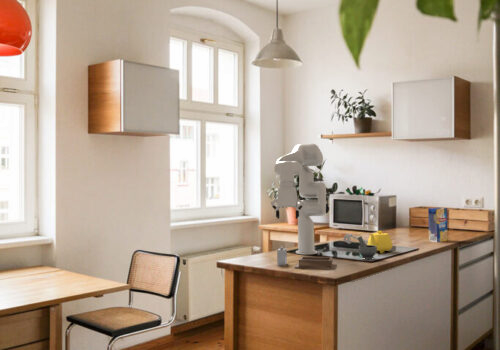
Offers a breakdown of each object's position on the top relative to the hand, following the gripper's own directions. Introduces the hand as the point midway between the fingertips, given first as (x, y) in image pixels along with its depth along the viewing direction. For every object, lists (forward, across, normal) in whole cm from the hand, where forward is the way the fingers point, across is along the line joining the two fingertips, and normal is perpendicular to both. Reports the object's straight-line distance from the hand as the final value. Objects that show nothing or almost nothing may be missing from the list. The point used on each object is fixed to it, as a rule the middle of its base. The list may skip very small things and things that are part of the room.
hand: (287, 218), depth 266 cm
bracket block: (+24, +4, -5) cm, 25 cm away
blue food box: (+23, -87, -103) cm, 137 cm away
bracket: (+23, -36, -82) cm, 92 cm away
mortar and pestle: (+24, -40, -27) cm, 54 cm away
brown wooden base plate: (+24, -14, 0) cm, 28 cm away
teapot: (+24, -47, -52) cm, 74 cm away
